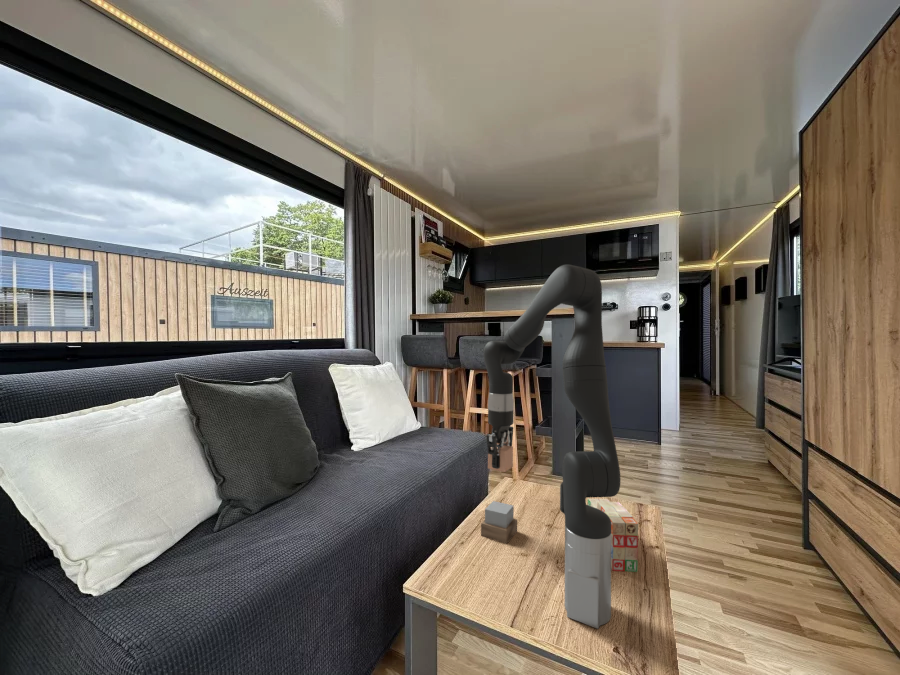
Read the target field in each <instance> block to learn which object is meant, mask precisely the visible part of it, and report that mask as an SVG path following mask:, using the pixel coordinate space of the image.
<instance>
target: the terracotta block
mask: <svg viewBox="0 0 900 675" xmlns="http://www.w3.org/2000/svg"><path fill="white" fill-rule="evenodd" d="M491 448H492V447H491ZM497 450H498V447H497ZM513 450H514V446H513V445H512V446H506V445H503V448H501V450H500V468H498V469H496V468H493V467H492V455H491V454H488V453H487V469H489V470H494V471H498V472H503V473H506V472H507V471H509V470H510V469H512V468H513V467H514V462H513V461H514V455H513V454H514V451H513Z"/></svg>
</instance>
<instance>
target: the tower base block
mask: <svg viewBox="0 0 900 675" xmlns="http://www.w3.org/2000/svg"><path fill="white" fill-rule="evenodd" d="M517 532H518V519H517V518H514V517H513V520H512V521H511V523H510V524H509V525H508V527H507V528H503V527H499V526H495V525H491V524H487V523H485V519H484V520H483V521H482V522H481V523H480V536H481V537H484V538H487V539H491V540H493V541H497V542H499V543H503V544H507V543H509V541H510V540H511V539H512V538H513V537H514V536H515V535H516V534H517Z"/></svg>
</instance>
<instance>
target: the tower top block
mask: <svg viewBox="0 0 900 675" xmlns="http://www.w3.org/2000/svg"><path fill="white" fill-rule="evenodd" d="M514 509H515V508H514V505H512V504H508V503H504V502H499V501H495V500H493V501H491V503H490V504H488V505H487V507H485V508H484V520H485V523H487V524H491V525H495V526H499V527H503V528H507V527H508V525H509V524H510V523H511V521H512V520H513V518H514Z"/></svg>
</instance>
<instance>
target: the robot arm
mask: <svg viewBox="0 0 900 675" xmlns="http://www.w3.org/2000/svg"><path fill="white" fill-rule="evenodd" d="M602 286H603V285H602V281H601V278H600V276H599V275H598V273H597V272H596V271H594V270H592V269H589V268H585V267H582V266H577V265H574V264H573V265H572V264H562V265H560V266H559V267H557V268H556V269H555V270H554V271H553V272H552V273H551V274H550V276H549V277H548V278H547V280H546V281H545V282H544V284H543V285H542V287H541V288H540V289H539V291H538V292H537V294H536V295H535V296H534V298H533V299H532V301H531V302H530V304H529V306H528V308H527V309H525V311H524V312H523V314H521V316H520V317H519V318H518V319H516V320H515V322H514V323H512V325H511V326H510V327H509V328H508V329H507V330H506V331H505V333H504V337H503V338H504V340H490V341H488V342H487V343H486V344H485V345H484V349H483V360H484V364H485V368H486V372H487V375H488V398H487V399H488V400H487V422H488V424H489V425H490V426H491V427H492V428H491V433H487V434H486V445H487V455H488V454H491V455H492V467H493V468H496V469H498V468H500V450H501V448H503V445H506V446H512V447H513V438H514V426H513V425H514V423H515V422H514V415H515V414H514V412H515V410H514V406H515V404H514V379H513V375H512V374H511V373H509V372H506V371H504V370H503V368H502V365H511V364H513V363H515V362H517V361H518V360H519V359H520V357H521V356H522V355H523V352H524V351H525V348H526V347H527V346H529V345H530V344H531V343H532V342H533V341H535V339H536V338H538V337H539V335H540V334H541V333H542V330H543V329H544V326H545V320H546V318H547V315H548V314H549V313H550V312H551V311H552V310H554V309H555V308H557V307H558V306H559V305H566V306H571V307H573V312H574V313H573V314H574V315H573V316H574V330H573V331H574V332H573V334H572V337H571V339H570V341H569V342H568V344H567V345H568V346H567V348H566V350H565V353H564V355H563V358H562V377H563V378H562V379H563V388H564V392H565V394H566V396H567V397H568V400H569V401H570V403H571V404H572V406H573V407H574V409H576V411H577V412H578V414H579V415H580V416H581V418H582V420H583V421H584V423H585V424H586V427H587V428H588V431H589V434H590V437H591V441H592V446H593V448H592V449H593V450H591V451H590V450H589V451H588V450H587V451H585V450H584V451H583V450H582V451H578V450H577V451H569V452H566V454H565V455H564V456H563V460H562V466H561V468H562V469H561V470H562V475H561V476H562V482H563V495H564V513H565V514H564V513H563V514H564V607H565V610H566V617H567V618H569V619H572V620H574V621H577V622H579V623H582V624H584V625H587V626H589V627H593V628H595V629H599V628H600V626H602V625H605V624H607V623H608V622H610V620H611V618H612V569H611V520H610V518H609V516H608V515H607V514H606V513H604V512H603V511H601V510H599V509H597V508H594V507H591V506H589V505H588V504H587V501H586V499H591V498H612V497H615V496H617V495H618V494H619V492H620V488H621V469H620V463H619V457H618V452H617V447H616V442H615V436H614V431H613V426H612V417H611V411H610V400H609V389H608V388H609V387H608V375H607V366H606V365H607V364H606V360H605V359H606V358H605V351H604V350H605V349H604V338H603V337H604V336H603V322H602V321H603V320H602V319H603V316H602V315H603V312H602V311H603V290H602V288H603V287H602ZM491 447H492V448H491ZM497 447H498V450H497Z"/></svg>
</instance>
